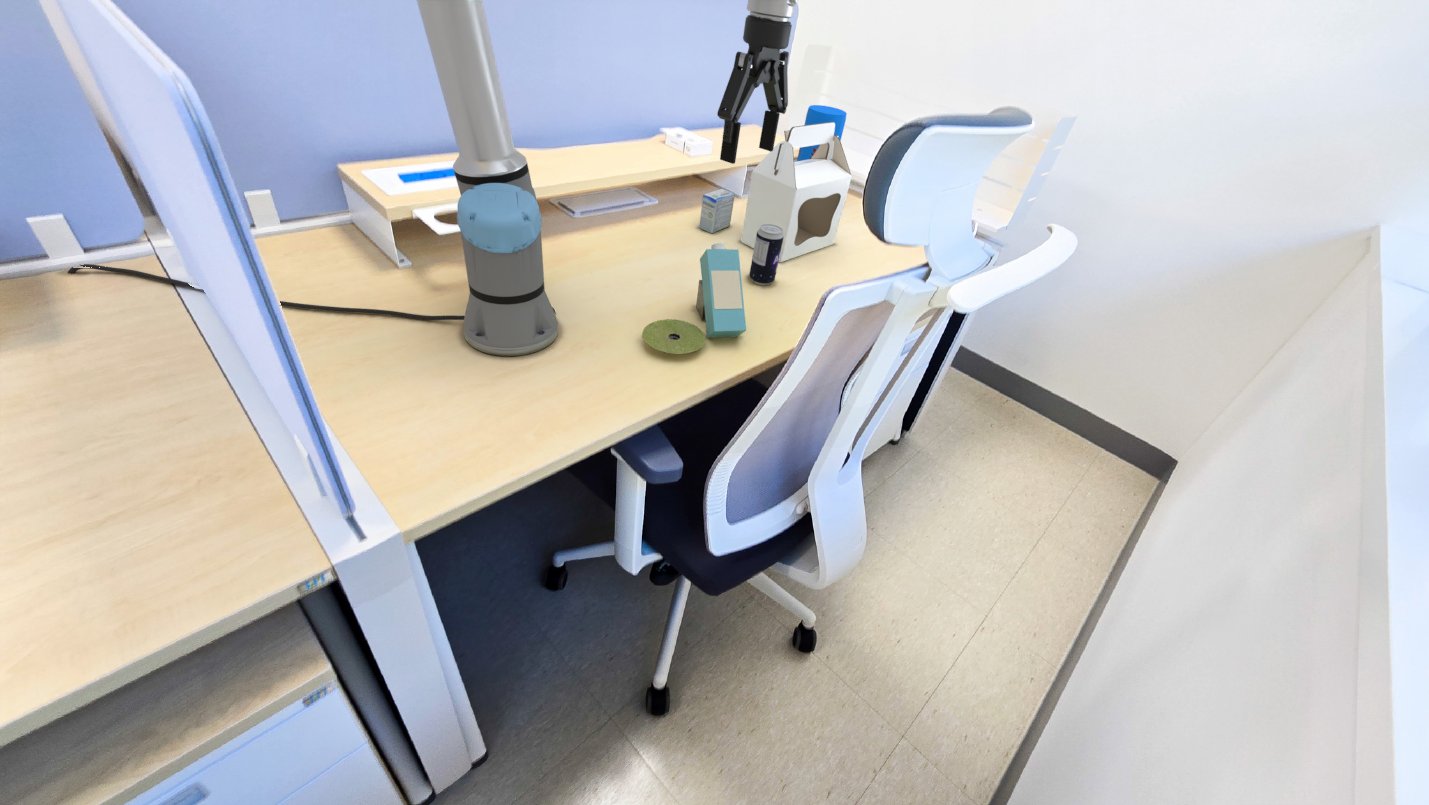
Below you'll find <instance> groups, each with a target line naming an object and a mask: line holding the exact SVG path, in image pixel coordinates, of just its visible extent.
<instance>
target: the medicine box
mask: <svg viewBox="0 0 1429 805" xmlns="http://www.w3.org/2000/svg"><path fill="white" fill-rule="evenodd" d="M735 196H736V194H735V193H733V192H731V191H729V190H727V189H724V188H718V189H715V190H713V191H711V192H707V193H705V194H703V195H702V201H701V208H700V217H699V226H698V227H699V229H701V230H703V231H705V232H707V233H710V234H714V233H716V232H719V231H721V230H723V229H726V228H728V227H730V226H731V221H732V216H733V208H734V203H735Z"/></svg>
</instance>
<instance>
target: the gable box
mask: <svg viewBox="0 0 1429 805" xmlns="http://www.w3.org/2000/svg"><path fill="white" fill-rule="evenodd" d="M834 130H835V123H834V122H827V123H819V124H811V125H805V124H804V125H796V126H792V127H791V128H790V129H788V130H784V140H782V141H779V142H778V143H776V145H774V148H773V151H769V152H768V154H767V155H766V156H765V157H764V158H762V160H761V161H760V162H759V163H758V164H757V165H756V166H755V167H754V169H752V170H751V171H752V172H751V178H750V184H749V189H748V190H749V191H748V196H747V202H746V207H745V214H744V218H743V219H744V220H743V226H742V232H741V236H740V238H741V239H740V243H742V244H744V245H746V246H748V247H750V248H752V249H754V246H755V240H756V235H757V231H758V230H759V229H760V226H761V225H763V224H772V225H776V226H779V227H780V228H782V229H783V236H784V238H783V243H782V247H781V252H780V257H779V261H778V263H783V262H786V261H788V260H791V259H794V258H797V257H800V256H803V255H806V254H809V253H812V252H815V251H818V250H820V249H823V248H827V247H828V246H833V245H834V243H835V240H836V236H837V233H838V228H839V226H840V222H841V219H842V218H841V217H842V214H843V211H844V206H845V203H846V199H847V197H848V196H847V195H848V192H849V189H850V185H851V181H852V178H853V177H852V173H851V170H850V166H849V164H848V160H847V156H846V155H845V151H844V147H843V144H842V142H841V141H840V139H839V138H838V137H839V136H838V135H834ZM819 144H821V145H820V146H819V148H818V149H817V151H816V152H815V154H814V155H813V156H812V158H811V159H808V160H803V161H797V160H796V161H795V158H794V157H795V156H794V149H800V148H801V147H807V146H813V145H819ZM830 159H832V160H830Z"/></svg>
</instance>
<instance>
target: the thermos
mask: <svg viewBox="0 0 1429 805" xmlns="http://www.w3.org/2000/svg"><path fill="white" fill-rule="evenodd" d="M804 120H805V121H804V125H811V124H819V123H827V122H834V123H835V130H834V135H838V136H839V137H838V138H839V139H840V142H841V141H842V136H843V133H844V129H845V124H846V120H847V112H846V111H845V110H843V109H841V108H837V107H833V106H828V105H820V104H811V105H809V106H808V109H807V111H806V115H805V119H804ZM820 145H821V144H819V145H813V146H807V147H801V148H798V155H797V157H796V158H797V159H796V162H797V161H803V160H808V159H811V158H812V156H813V155H814V154H815V152H816V151H817V149H818V148H819V146H820ZM830 160H832V159H830Z"/></svg>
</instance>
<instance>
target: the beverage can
mask: <svg viewBox="0 0 1429 805" xmlns="http://www.w3.org/2000/svg"><path fill="white" fill-rule="evenodd" d="M783 238H784V236H783V229H782V228H780V227H779V226H776V225H772V224H763V225H761V226H760V229H759V230H758V231H757V235H756V240H755V246H754V248H753V252H752V256H751V257H752V258H751V262H750V263H751V264H750V268H749V274H748V277H749V278H750V280H751V281H752V283H753V284H755V285H758V286H769V285H770V284H771V283H774V282H775V279H776V275H777V271H778V265H779V257H780V252H781V247H782V243H783Z"/></svg>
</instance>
